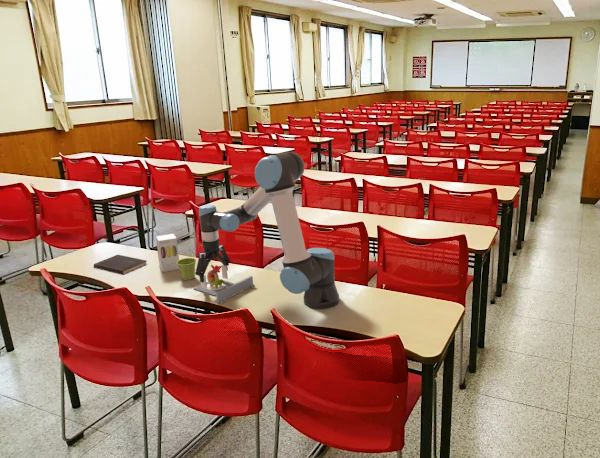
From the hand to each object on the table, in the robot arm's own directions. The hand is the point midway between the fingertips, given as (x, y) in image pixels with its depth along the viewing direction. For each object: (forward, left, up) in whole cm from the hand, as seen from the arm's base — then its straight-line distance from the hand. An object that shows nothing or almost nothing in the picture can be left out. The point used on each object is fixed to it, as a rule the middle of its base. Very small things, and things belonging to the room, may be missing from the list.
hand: (215, 283), depth 226 cm
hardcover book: (+65, +7, -3) cm, 65 cm away
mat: (0, 0, -2) cm, 2 cm away
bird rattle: (0, 0, -2) cm, 2 cm away
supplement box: (+39, -5, -2) cm, 39 cm away
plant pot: (+20, -1, -2) cm, 20 cm away
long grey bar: (-13, 0, -2) cm, 13 cm away
